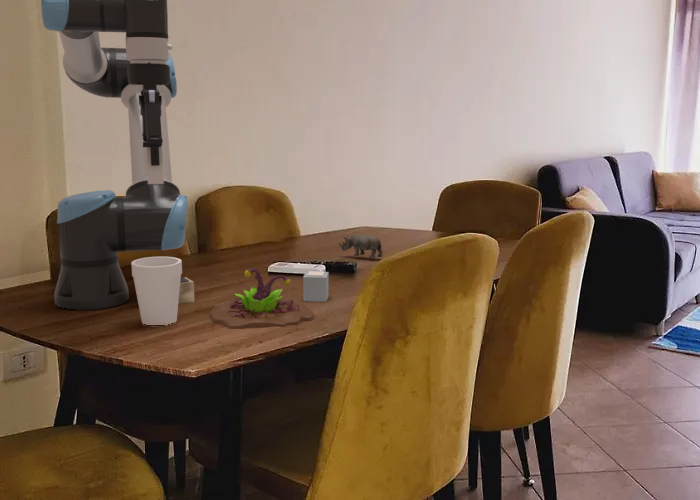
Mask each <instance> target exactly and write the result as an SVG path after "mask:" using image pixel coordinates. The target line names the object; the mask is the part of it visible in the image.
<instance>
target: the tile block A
mask: <svg viewBox="0 0 700 500" xmlns="http://www.w3.org/2000/svg"><path fill="white" fill-rule="evenodd" d="M194 302H195V282H194V281H193V280H191V279H189V278H188V277H186V276H181V280H180V290H179V301H178V305H181V304H186V303H187V304H189V303H194Z"/></svg>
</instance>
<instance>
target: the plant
mask: <svg viewBox="0 0 700 500" xmlns="http://www.w3.org/2000/svg"><path fill="white" fill-rule="evenodd" d="M253 273H255V274H254V277H253V279H254V280H255V282H257V287H255V286H252V287H251V288H250V290H246V289H243V293H244V294H245V295H242V294H240V293H234V295H235V296H236V298H233V299H227V300H225V301H222V302H220V303H216V305H215V306H214V307H213V308H211V311H210V319H211V320H212V321H213V323H214V324H219V325H221V326H225V327H226V328H228V329H229V330H230V329H231V330H233V329H235V330H239V329H240V330H243V329H253V328H254V329H259V328H260V329H261V328H271V327H272V328H273V327H278V328H279V327H281V328H286V327H288V326H296V325H300V324H301V323H302V322H311V321H313V320H314V319H315V313H314V311H313V310H311V309H310V308H309V307H307V306H306V305H305V304H304V303H302V302H299V301H298V300H295V299H290V298H287V297H283V296H281V293H282V292H283V288H278V289H276V290H275V289H274V290H273V291H271V289H272V286H273V284H274V282H275V281H276V280H277V279H282V280H283V283H284V285H286V286H289V285H290V284H291V280H290V278H288V277H287V276H285V275H281V274H279V275H275V276H273V277H272V278H270V280H268V282H266V284H264V280H263V279H264V278H263V276H262V274H261V273H260V271H259V269H257V268H248V269H246V270H245V271H244V273H243V274H244V277H245V278H250V277H252V275H253Z"/></svg>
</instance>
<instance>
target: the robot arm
mask: <svg viewBox="0 0 700 500" xmlns="http://www.w3.org/2000/svg"><path fill="white" fill-rule="evenodd" d="M40 8H41V18H42V24H43V27H44V28H45V29H46V30H48V31H53V32H54V31H56V32H58V33H59V38H60V41H61V43H62V49H63V52H64V53H63V56H62V66H63V70H64V73H65V74H66V76H67V78H69V80H70V81H71V82H72V83H73V84H75V86H77V87H79V88H80V89H82V90H84V91H85V92H87V93H89V94H92V95H95V96H98V97H102V98H109V99H111V98H113V99H114V98H115V99H116V98H117V99H119V98H120V100H121V103H122V104H123V106H124V107H126V108H127V109H128V111H127V113H128V131H129V146H130V148H129V150H130V166H131V184H130V185H129V187H127V189H126V191H125V196H123V197H121V196H119V197H118V196H116V193H115V191H114V190H110V189H106V190H94V191H93V190H92V191H88V192H87V191H86V192H82V193H78V194H77V193H76V194H73V195H69V196H66V197H64V198H62V199H61V200H60V201H58V204H57V220H56V224H58V225H57V226H58V237H59V238H58V240H59V253H60V254H59V255H60V256H59V257H60V272H59V274H58V278H57V279H58V280H57V283H56V285H55V290H54V294H53V295H54V305H55V306H56V305H57V306H56V307H58V308H60V307H62V308H61V309H64V308H67V309H66V310H70V309H76V310H75V311H92V310H93V311H94V310H101V309H106V308H112V307H116V306H119V305H122V304H125V303H126V302H127V301H129V299H130V294H129V293H130V292H129V287H128V284H127V281H126V279H125V276H124V275H123V271H122V269H121V267H120V266H121V265H120V264H119V263H120V262H119V253H122V252H124V253H125V252H143V251H144V252H145V251H166V250H174V249H175V250H176V249H180V248H181V247H183V246H184V244H185V243H186V242H185V241H186V224H187V214H188V212H187V211H188V197H187V195H185V194H181V192H180V191H181V190H180V188H179V187H178V185H177V184H176V183H174V182H173V179H172V178H173V177H172V167H171V166H172V165H171V153H170V152H171V151H170V143H169V131H168V129H169V128H168V118H167V107H168V106H169V105H170V104H171V101H172V99H174V98H175V97H176V96H177V92H178V91H177V90H178V89H177V88H178V87H177V86H178V85H177V76H176V70H175V64H174V60H173V57H172V56H171V54H170V52H169V50H170V51H172V50H173V46H172V44H171V43H170V44H169V27H168V26H169V24H168V23H169V19H168V13H169V12H168V0H40ZM107 32H108V33H125V47H101V41H100V36H99V35H100V34H99V33H107Z"/></svg>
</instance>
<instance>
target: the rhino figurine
mask: <svg viewBox="0 0 700 500" xmlns="http://www.w3.org/2000/svg"><path fill="white" fill-rule="evenodd" d="M342 237H343V239H344V240H345V242H344V241H342V243H340V241H338V242H337V243H338V245H339V247H340V248H341V250H342V251H343V252H345V251H348V250H349V249H352V248H353V249H354V251H355V253H354V254H353V257H359V256H360V255H361V256H362V255H363V256H364V255H365V254H366V253H365V251H369V250H370V251H371V254H370V255H369V256H368V257H369V258H370V259H374V258H376V255H377V252H378V255H377V258H383V257H384V256H383V250H382V242H381V239H380V238H378V237H377V236H374V235H367V236H366V235H365V236H364V235H361V234H359V233H355V234H353V235H350V236H349V235H347V236H346V237H345V236H342Z"/></svg>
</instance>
